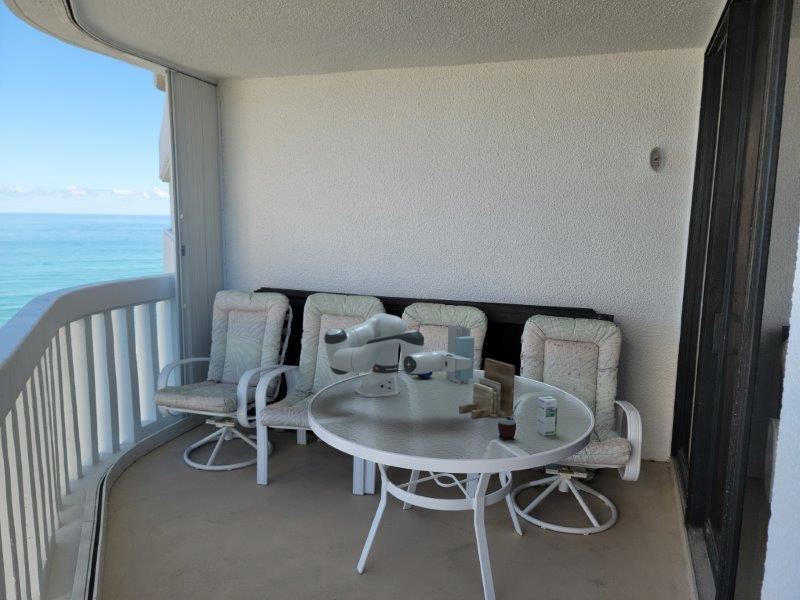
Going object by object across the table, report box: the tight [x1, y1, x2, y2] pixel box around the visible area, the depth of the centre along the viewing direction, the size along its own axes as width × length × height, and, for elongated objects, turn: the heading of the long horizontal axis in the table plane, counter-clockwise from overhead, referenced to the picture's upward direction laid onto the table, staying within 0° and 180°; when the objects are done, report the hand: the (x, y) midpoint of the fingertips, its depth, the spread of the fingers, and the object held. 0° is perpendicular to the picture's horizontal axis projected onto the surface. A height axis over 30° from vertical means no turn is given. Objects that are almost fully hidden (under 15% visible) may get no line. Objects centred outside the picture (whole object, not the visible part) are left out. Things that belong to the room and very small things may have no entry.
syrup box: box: [536, 396, 559, 437], centre depth 231 cm, size 6×6×14 cm
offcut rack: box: [458, 357, 516, 419], centre depth 257 cm, size 19×18×22 cm
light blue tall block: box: [455, 336, 475, 380], centre depth 249 cm, size 7×4×18 cm, turn 122°
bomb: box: [417, 372, 434, 379], centre depth 318 cm, size 10×11×15 cm
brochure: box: [446, 324, 472, 385], centre depth 312 cm, size 14×6×30 cm, turn 25°
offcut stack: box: [472, 376, 501, 414], centre depth 259 cm, size 5×13×13 cm, turn 31°
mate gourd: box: [497, 399, 522, 441], centre depth 224 cm, size 8×8×15 cm
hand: (466, 357), depth 249 cm, fingers closed on light blue tall block, 4 cm apart
